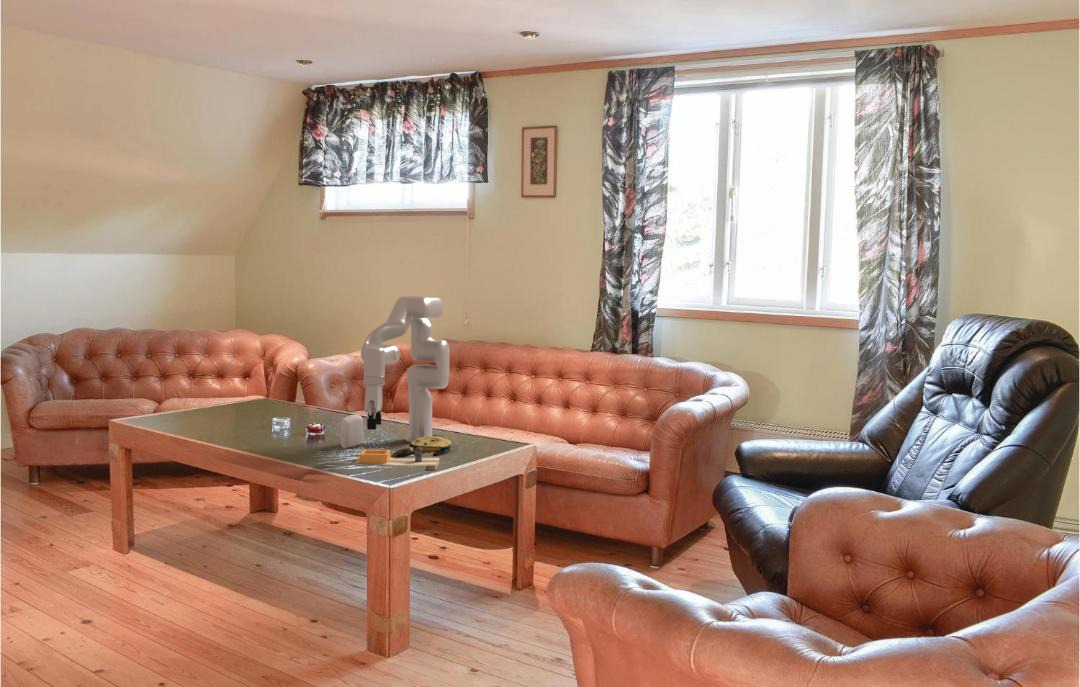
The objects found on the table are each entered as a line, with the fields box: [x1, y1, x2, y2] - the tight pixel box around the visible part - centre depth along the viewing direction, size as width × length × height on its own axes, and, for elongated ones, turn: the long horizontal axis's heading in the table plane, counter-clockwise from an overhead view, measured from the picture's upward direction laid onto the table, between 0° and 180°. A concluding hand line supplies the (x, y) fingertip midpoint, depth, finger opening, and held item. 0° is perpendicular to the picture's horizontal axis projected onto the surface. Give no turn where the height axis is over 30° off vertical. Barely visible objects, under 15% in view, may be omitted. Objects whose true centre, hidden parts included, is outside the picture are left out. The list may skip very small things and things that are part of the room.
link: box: [358, 449, 391, 463], centre depth 325 cm, size 7×10×3 cm
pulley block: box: [392, 434, 459, 457], centre depth 342 cm, size 14×6×30 cm
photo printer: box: [340, 414, 364, 449], centre depth 354 cm, size 10×4×12 cm, turn 150°
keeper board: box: [352, 447, 440, 471], centre depth 324 cm, size 12×30×7 cm, turn 90°
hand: (374, 426), depth 323 cm, fingers open, 9 cm apart
